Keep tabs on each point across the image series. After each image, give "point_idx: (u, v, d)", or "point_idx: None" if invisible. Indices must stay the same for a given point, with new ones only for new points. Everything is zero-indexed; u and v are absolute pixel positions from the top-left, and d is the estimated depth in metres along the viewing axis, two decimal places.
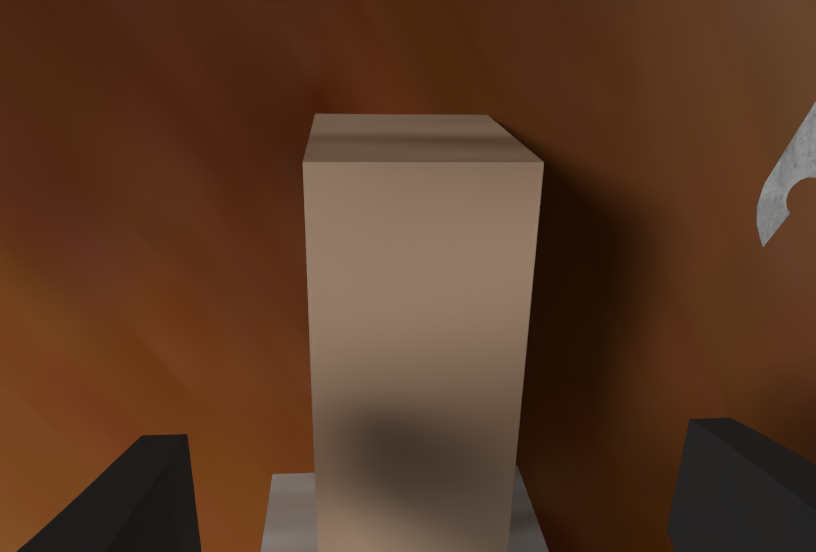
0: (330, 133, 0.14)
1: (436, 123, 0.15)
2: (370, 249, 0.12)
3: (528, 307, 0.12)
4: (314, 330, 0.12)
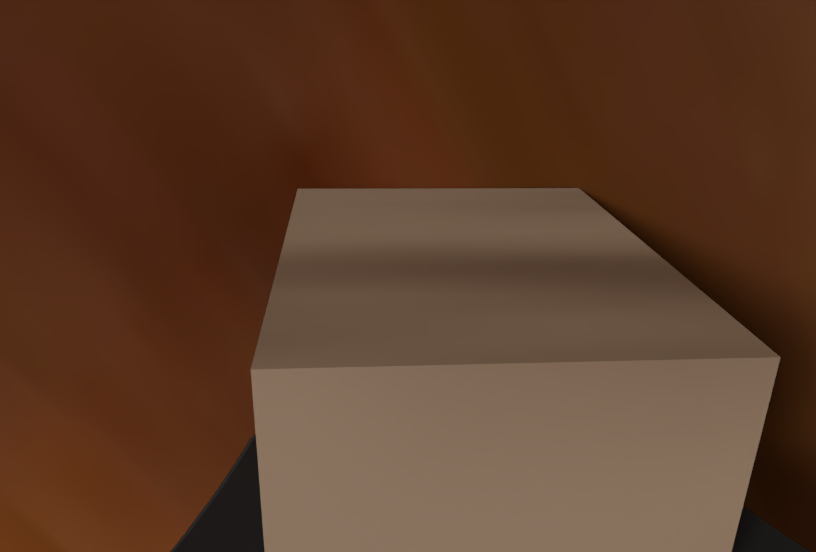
0: (319, 248, 0.07)
1: (504, 213, 0.09)
2: (400, 530, 0.06)
3: None
4: None
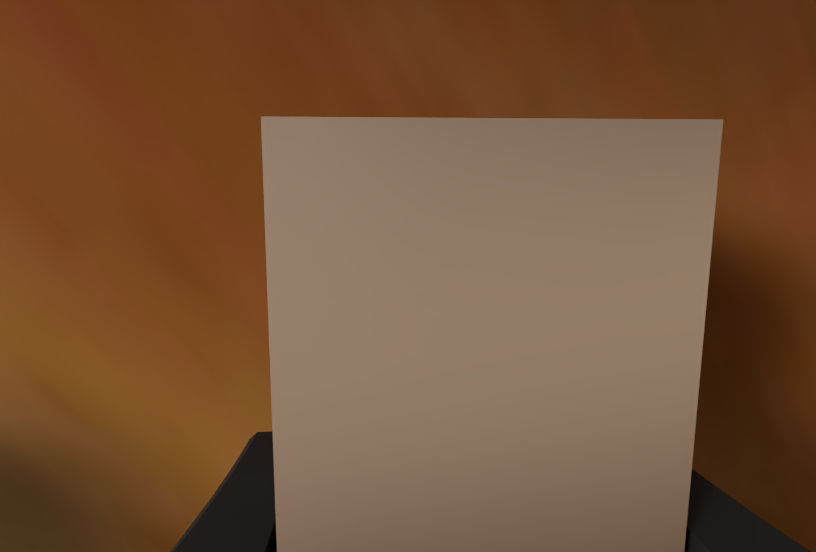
0: None
1: None
2: (393, 292, 0.06)
3: (694, 406, 0.07)
4: (283, 457, 0.06)
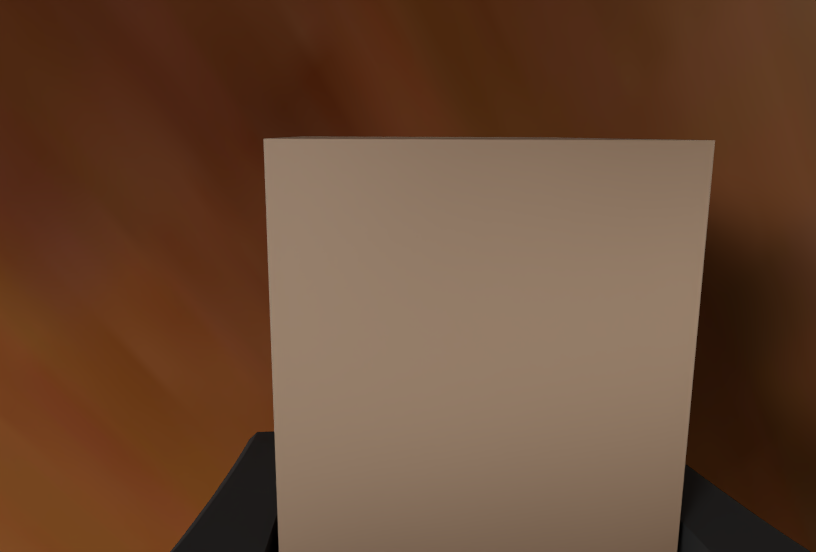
0: (322, 137, 0.08)
1: None
2: (392, 310, 0.06)
3: (686, 419, 0.07)
4: (285, 469, 0.07)
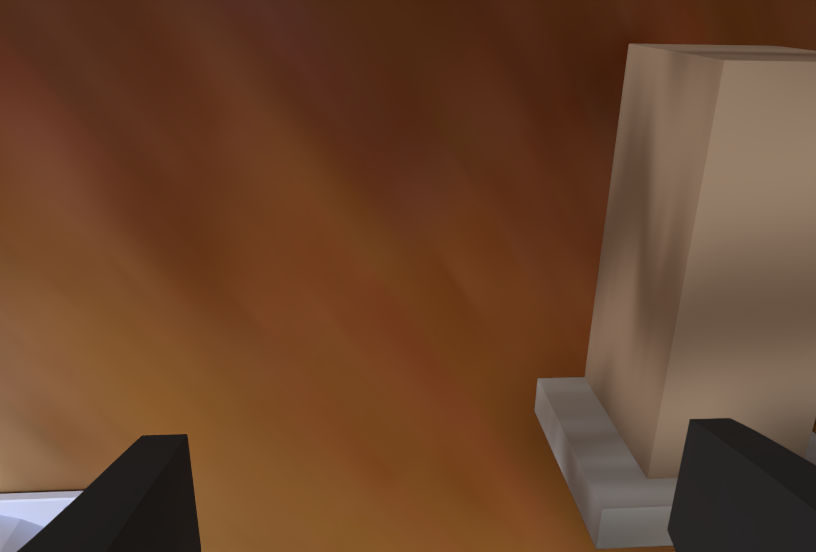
0: (684, 50, 0.16)
1: (750, 48, 0.17)
2: (761, 138, 0.14)
3: None
4: (700, 211, 0.15)
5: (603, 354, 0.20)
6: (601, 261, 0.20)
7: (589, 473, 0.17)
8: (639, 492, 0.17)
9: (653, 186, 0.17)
